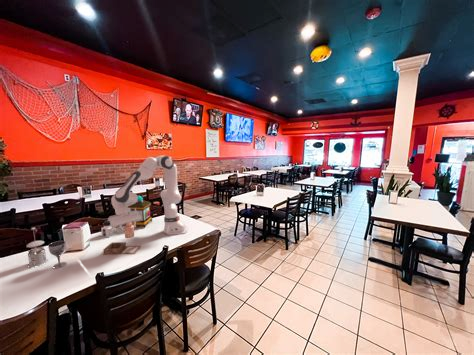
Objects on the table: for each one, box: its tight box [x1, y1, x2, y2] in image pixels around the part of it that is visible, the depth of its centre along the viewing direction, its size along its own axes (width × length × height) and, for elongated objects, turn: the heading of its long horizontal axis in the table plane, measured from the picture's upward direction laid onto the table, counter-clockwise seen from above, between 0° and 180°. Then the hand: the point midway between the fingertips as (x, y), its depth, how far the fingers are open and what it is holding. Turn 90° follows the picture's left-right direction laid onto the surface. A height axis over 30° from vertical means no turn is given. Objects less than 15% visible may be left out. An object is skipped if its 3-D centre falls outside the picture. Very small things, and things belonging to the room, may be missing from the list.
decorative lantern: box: [128, 195, 153, 229], centre depth 189 cm, size 20×20×30 cm
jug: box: [123, 222, 135, 239], centre depth 139 cm, size 8×6×10 cm
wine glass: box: [47, 240, 67, 269], centre depth 123 cm, size 8×8×15 cm
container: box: [100, 219, 117, 238], centre depth 167 cm, size 8×8×13 cm
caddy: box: [102, 241, 142, 256], centre depth 142 cm, size 22×12×4 cm, turn 94°
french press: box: [26, 227, 49, 268], centre depth 124 cm, size 10×12×25 cm
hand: (129, 228), depth 139 cm, fingers closed on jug, 6 cm apart
